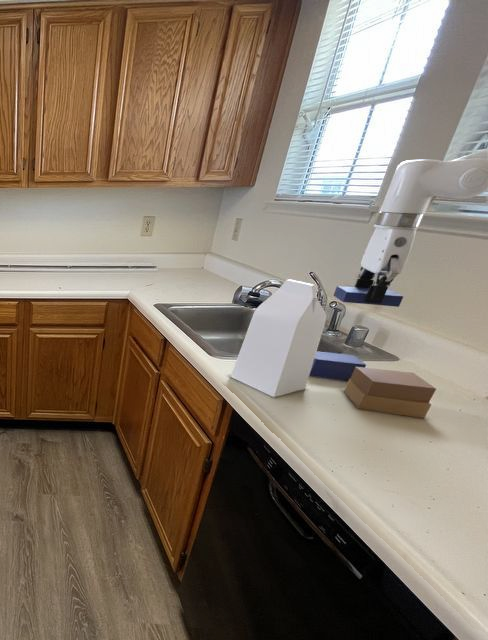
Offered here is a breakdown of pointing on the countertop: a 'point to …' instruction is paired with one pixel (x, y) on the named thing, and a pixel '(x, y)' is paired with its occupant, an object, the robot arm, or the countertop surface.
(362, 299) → the navy book
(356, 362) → the navy books
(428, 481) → the countertop surface
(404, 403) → the tan books
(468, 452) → the countertop surface
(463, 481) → the countertop surface
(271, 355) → the milk
